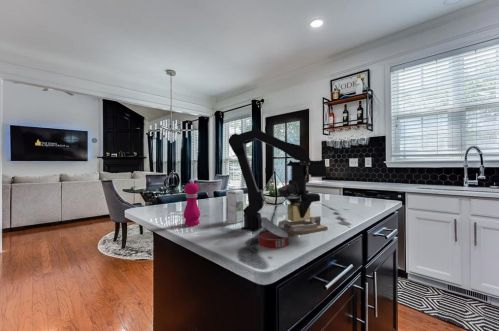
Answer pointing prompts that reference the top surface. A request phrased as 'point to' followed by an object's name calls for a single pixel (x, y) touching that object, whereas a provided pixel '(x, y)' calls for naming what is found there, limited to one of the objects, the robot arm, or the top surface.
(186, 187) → the pepper mill
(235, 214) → the syrup box
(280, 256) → the top surface
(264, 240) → the canned food
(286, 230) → the shaft board
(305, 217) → the block
